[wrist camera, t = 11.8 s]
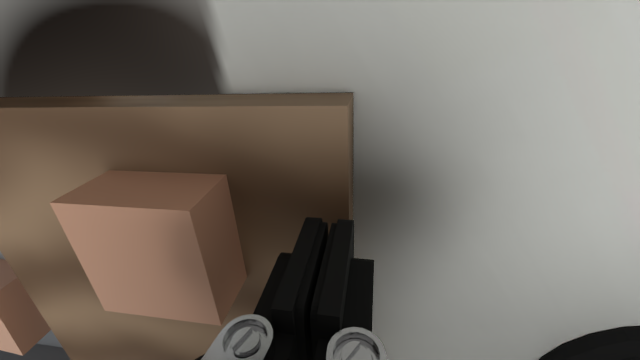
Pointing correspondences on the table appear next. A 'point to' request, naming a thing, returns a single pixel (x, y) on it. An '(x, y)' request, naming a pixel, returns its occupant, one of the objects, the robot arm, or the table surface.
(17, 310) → the tile
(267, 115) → the board
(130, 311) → the tile
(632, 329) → the handle grip
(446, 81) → the table surface
